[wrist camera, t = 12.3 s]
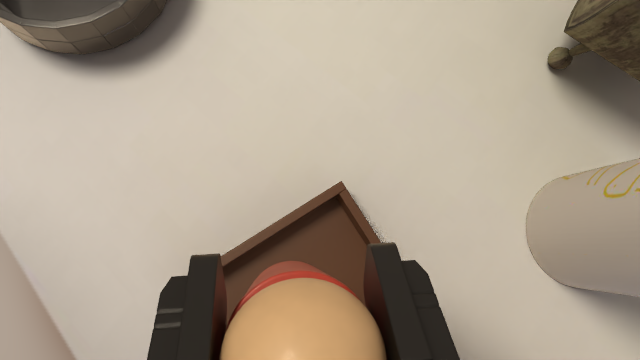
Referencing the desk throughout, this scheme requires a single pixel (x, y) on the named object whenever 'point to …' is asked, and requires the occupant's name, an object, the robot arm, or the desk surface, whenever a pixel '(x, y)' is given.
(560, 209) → the white cylinder
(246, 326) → the doll
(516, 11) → the desk surface
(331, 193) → the tray
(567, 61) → the tabletop clock
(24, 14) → the pan
